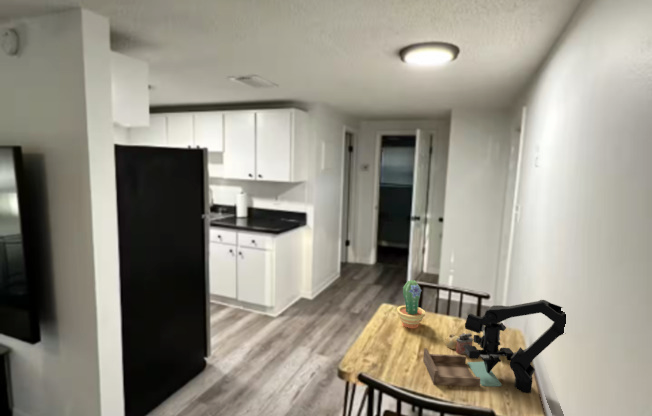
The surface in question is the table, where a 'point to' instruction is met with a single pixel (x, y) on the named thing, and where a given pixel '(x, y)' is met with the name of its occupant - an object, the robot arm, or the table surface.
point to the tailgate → (484, 374)
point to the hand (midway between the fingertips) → (487, 372)
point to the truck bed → (449, 370)
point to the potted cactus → (411, 306)
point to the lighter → (463, 342)
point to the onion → (451, 341)
